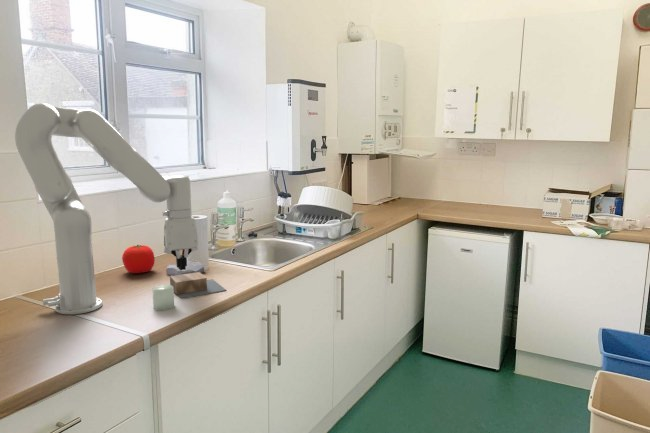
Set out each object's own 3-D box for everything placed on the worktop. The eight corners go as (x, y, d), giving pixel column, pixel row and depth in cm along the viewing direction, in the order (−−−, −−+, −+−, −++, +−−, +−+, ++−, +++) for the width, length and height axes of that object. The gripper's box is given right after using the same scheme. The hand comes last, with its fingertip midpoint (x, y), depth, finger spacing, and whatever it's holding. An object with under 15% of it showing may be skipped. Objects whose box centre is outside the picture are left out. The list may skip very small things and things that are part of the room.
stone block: (207, 276, 188) (190, 267, 193) (207, 265, 186) (191, 255, 192) (180, 285, 179) (164, 274, 184) (181, 273, 177) (164, 263, 183)
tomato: (151, 266, 194) (150, 240, 192) (158, 274, 184) (157, 246, 182) (120, 270, 188) (119, 243, 186) (126, 278, 178) (124, 250, 176)
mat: (181, 298, 158) (181, 297, 158) (169, 286, 169) (169, 285, 169) (226, 290, 165) (226, 289, 165) (212, 279, 177) (212, 279, 177)
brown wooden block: (176, 282, 159) (206, 277, 164) (169, 276, 166) (199, 272, 171) (176, 295, 160) (207, 290, 165) (170, 288, 167) (199, 283, 172)
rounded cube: (156, 311, 146) (154, 292, 145) (151, 305, 151) (150, 286, 150) (176, 308, 149) (175, 289, 148) (171, 302, 154) (170, 283, 153)
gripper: (158, 217, 153) (161, 275, 157) (205, 213, 161) (207, 268, 164) (152, 214, 160) (155, 269, 163) (198, 210, 167) (200, 263, 170)
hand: (181, 268), depth 163 cm, fingers closed
